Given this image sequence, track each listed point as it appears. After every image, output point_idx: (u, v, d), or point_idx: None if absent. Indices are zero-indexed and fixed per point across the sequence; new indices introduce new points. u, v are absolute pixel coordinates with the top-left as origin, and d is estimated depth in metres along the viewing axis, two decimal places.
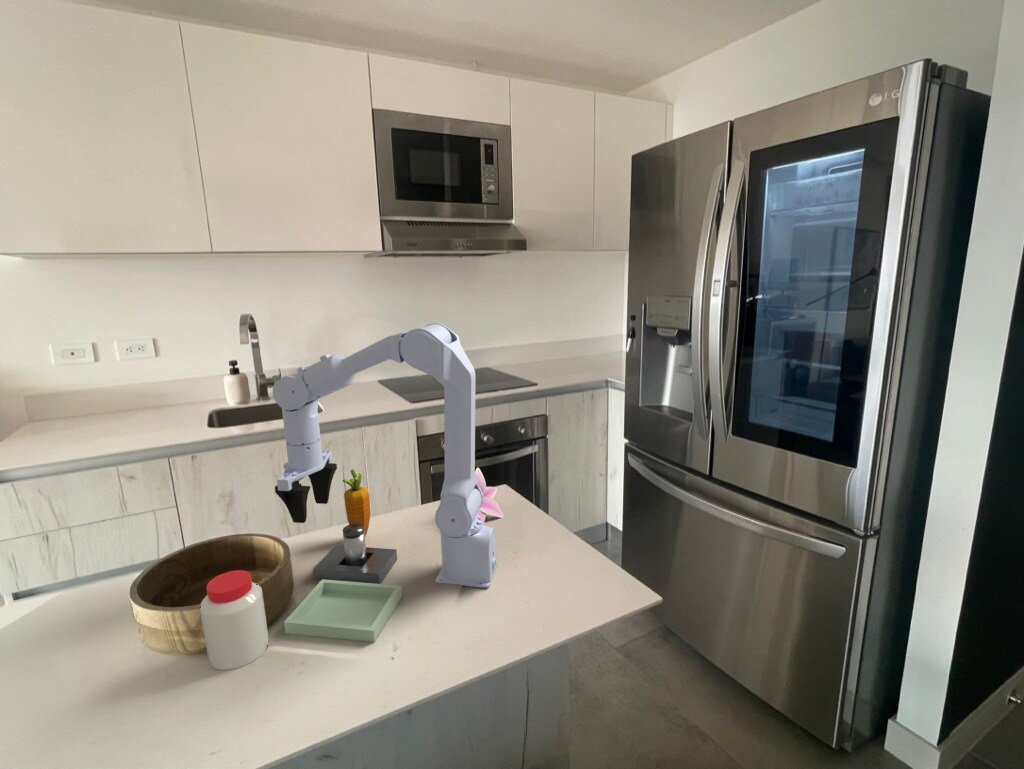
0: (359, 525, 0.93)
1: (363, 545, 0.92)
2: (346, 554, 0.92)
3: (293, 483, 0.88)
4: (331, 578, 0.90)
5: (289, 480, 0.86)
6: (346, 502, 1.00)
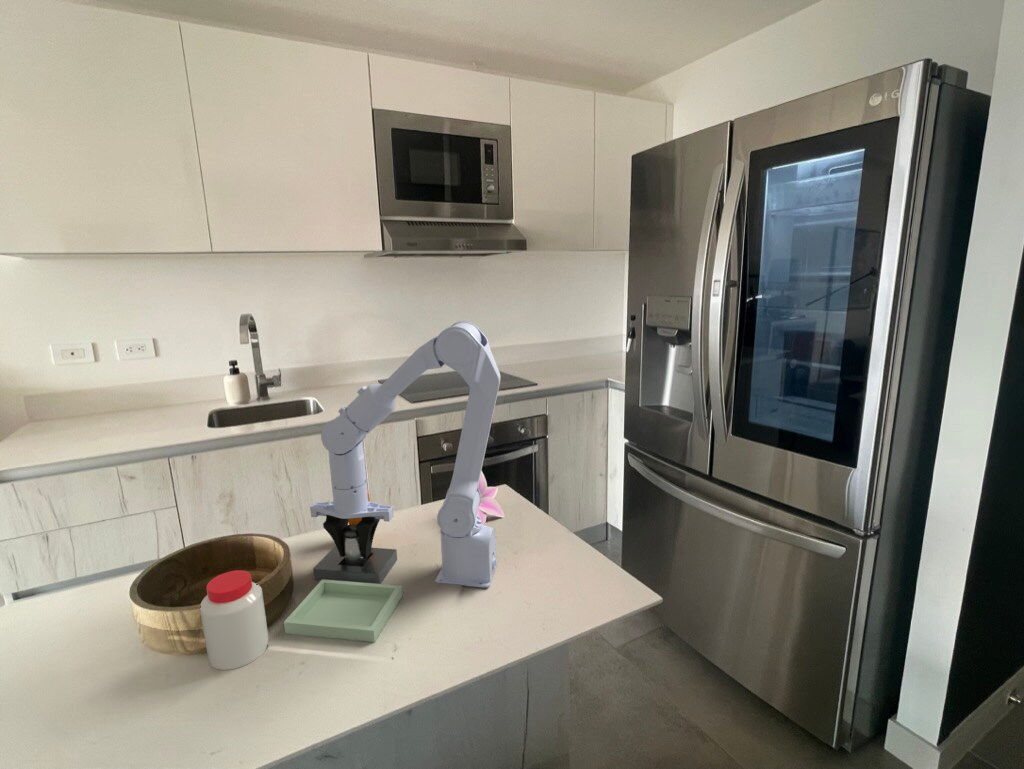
0: None
1: None
2: (346, 554, 0.92)
3: (323, 514, 0.92)
4: (331, 578, 0.90)
5: (312, 508, 0.91)
6: None
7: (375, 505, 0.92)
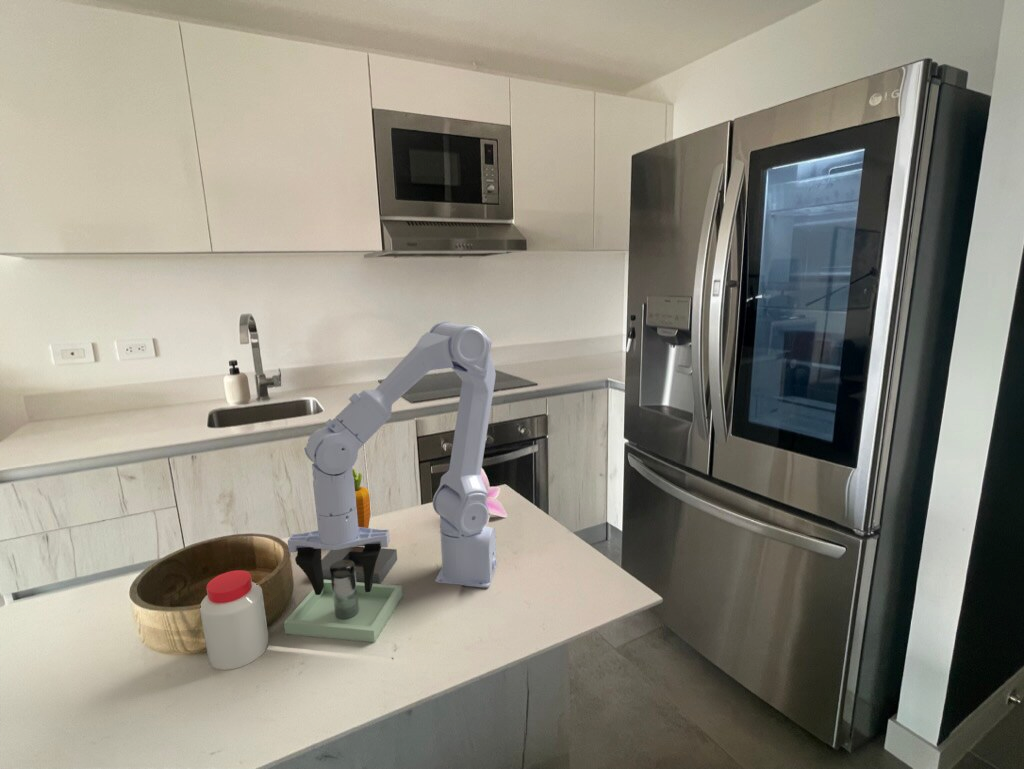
0: (347, 561, 0.81)
1: (355, 583, 0.80)
2: (336, 597, 0.79)
3: (304, 547, 0.78)
4: None
5: (290, 542, 0.77)
6: None
7: (366, 530, 0.80)
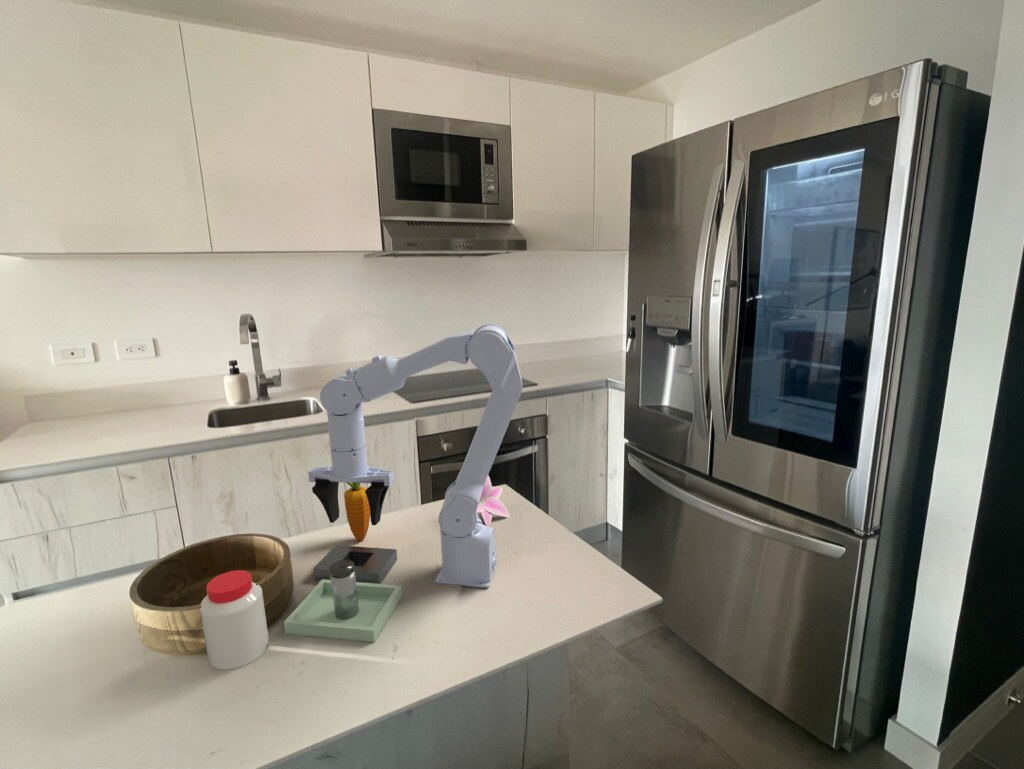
0: (347, 561, 0.81)
1: (355, 583, 0.81)
2: (336, 597, 0.79)
3: (322, 479, 0.89)
4: None
5: (310, 473, 0.89)
6: (346, 502, 1.00)
7: (375, 470, 0.89)
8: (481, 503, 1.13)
